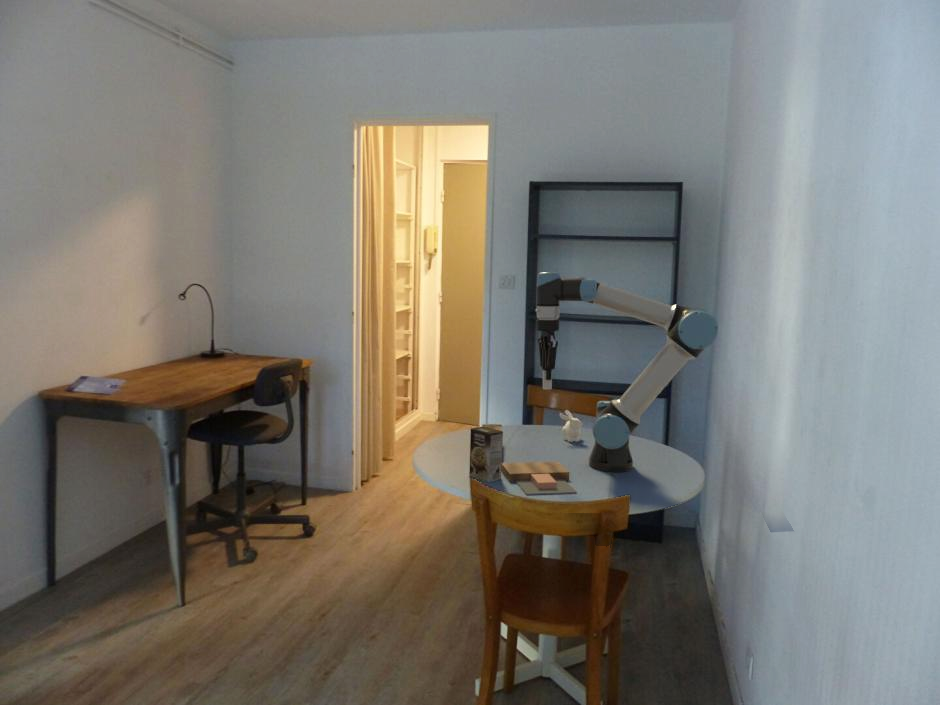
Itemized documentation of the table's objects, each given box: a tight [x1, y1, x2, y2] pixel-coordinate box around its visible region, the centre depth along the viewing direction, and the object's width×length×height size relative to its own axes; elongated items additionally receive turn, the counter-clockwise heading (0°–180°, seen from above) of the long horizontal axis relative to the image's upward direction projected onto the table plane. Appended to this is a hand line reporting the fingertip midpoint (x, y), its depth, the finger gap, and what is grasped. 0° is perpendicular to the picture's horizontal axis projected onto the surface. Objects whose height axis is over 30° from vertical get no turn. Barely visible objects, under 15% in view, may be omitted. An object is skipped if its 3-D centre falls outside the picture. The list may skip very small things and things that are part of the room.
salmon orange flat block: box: [531, 474, 557, 489], centre depth 221 cm, size 9×6×2 cm, turn 10°
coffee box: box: [468, 426, 504, 483], centre depth 226 cm, size 9×6×16 cm
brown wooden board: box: [501, 461, 570, 483], centre depth 231 cm, size 20×12×3 cm, turn 100°
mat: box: [515, 479, 578, 496], centre depth 219 cm, size 16×13×1 cm
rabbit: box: [559, 409, 583, 443], centre depth 281 cm, size 12×9×12 cm
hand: (547, 389), depth 234 cm, fingers closed
